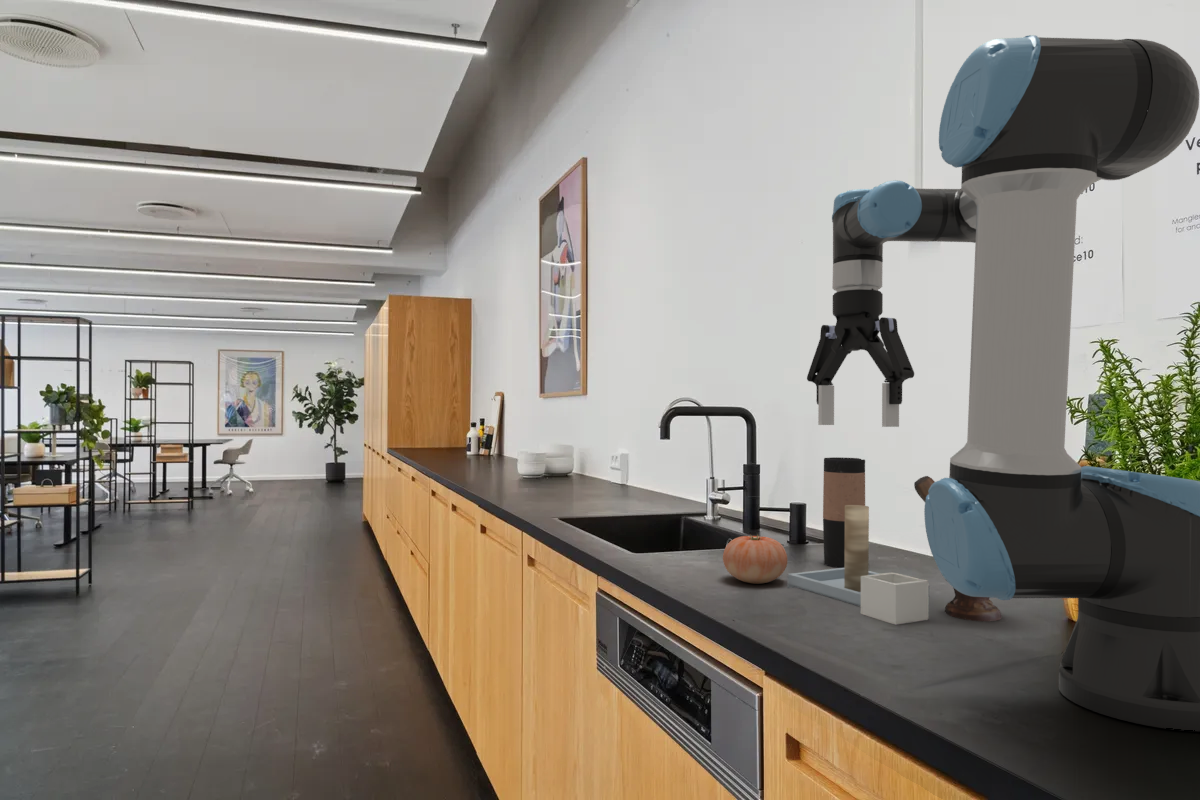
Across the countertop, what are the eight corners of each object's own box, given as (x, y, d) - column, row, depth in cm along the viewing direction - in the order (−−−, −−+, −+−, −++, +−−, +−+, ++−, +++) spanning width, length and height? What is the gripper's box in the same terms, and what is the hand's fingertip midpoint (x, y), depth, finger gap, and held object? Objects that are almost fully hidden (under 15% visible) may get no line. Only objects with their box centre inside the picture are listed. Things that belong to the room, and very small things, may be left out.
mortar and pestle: (945, 631, 106) (945, 480, 106) (905, 614, 114) (906, 474, 114) (1019, 626, 108) (1020, 479, 109) (975, 610, 117) (976, 473, 117)
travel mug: (814, 564, 151) (815, 458, 151) (836, 559, 156) (836, 456, 156) (851, 570, 145) (852, 460, 145) (872, 565, 150) (873, 458, 151)
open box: (928, 625, 108) (928, 580, 108) (895, 630, 106) (895, 585, 106) (892, 614, 114) (892, 572, 114) (860, 619, 111) (860, 576, 111)
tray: (929, 602, 121) (929, 585, 122) (861, 612, 115) (861, 594, 115) (851, 581, 136) (851, 566, 136) (787, 589, 129) (787, 573, 129)
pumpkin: (711, 583, 134) (712, 535, 134) (738, 572, 143) (738, 527, 143) (773, 591, 128) (773, 541, 128) (796, 580, 137) (797, 533, 137)
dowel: (873, 590, 125) (873, 507, 125) (856, 592, 123) (856, 508, 123) (856, 585, 128) (856, 504, 128) (839, 587, 126) (839, 505, 126)
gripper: (940, 282, 117) (939, 427, 116) (820, 302, 139) (819, 424, 138) (903, 277, 113) (902, 427, 113) (786, 299, 135) (785, 424, 135)
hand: (856, 426), depth 126 cm, fingers open, 13 cm apart
